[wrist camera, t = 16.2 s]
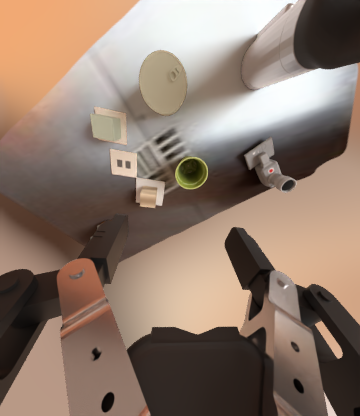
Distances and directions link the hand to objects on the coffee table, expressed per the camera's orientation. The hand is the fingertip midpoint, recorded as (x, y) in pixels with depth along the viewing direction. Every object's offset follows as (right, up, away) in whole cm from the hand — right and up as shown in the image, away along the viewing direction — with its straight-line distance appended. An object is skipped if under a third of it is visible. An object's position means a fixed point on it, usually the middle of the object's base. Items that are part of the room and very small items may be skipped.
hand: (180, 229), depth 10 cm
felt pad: (-11, +8, +40) cm, 42 cm away
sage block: (-19, +25, +28) cm, 42 cm away
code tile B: (-19, +25, +28) cm, 42 cm away
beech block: (-11, +7, +40) cm, 42 cm away
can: (-4, +31, +25) cm, 40 cm away
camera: (+28, +17, +37) cm, 49 cm away
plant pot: (+3, +16, +36) cm, 39 cm away
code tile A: (-18, +16, +34) cm, 42 cm away
